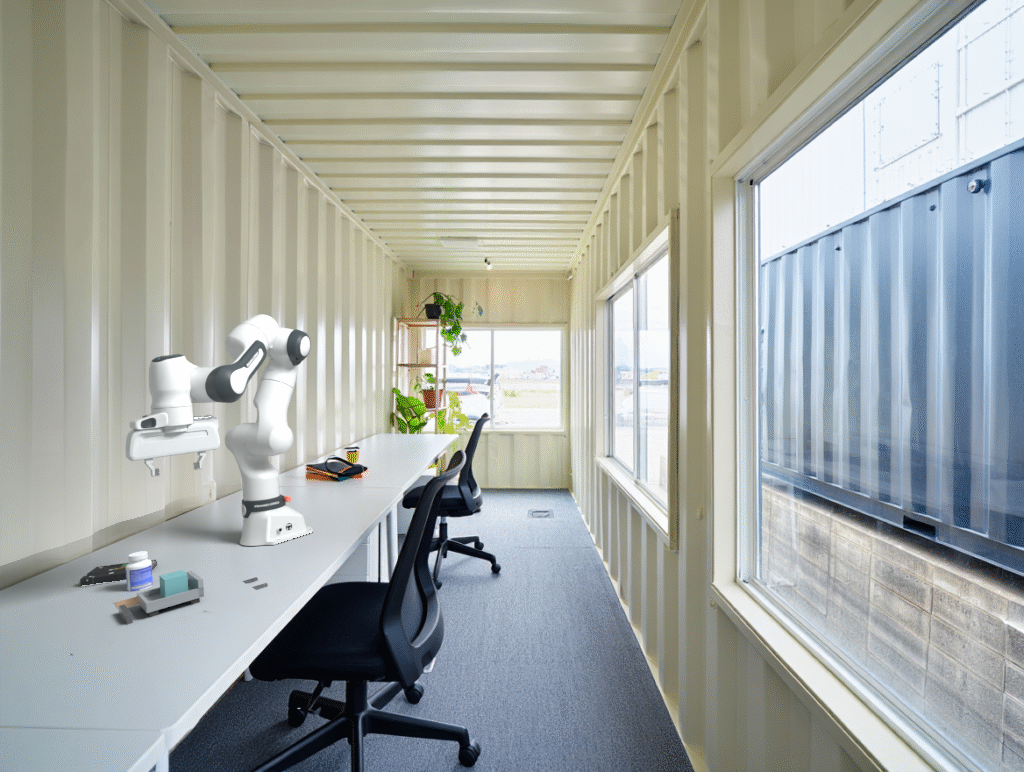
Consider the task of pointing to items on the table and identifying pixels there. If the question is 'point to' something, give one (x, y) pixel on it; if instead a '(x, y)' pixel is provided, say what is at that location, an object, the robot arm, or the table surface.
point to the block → (173, 583)
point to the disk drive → (108, 574)
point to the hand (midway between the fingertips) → (177, 472)
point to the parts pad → (127, 602)
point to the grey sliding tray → (154, 601)
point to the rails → (127, 614)
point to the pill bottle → (139, 571)
